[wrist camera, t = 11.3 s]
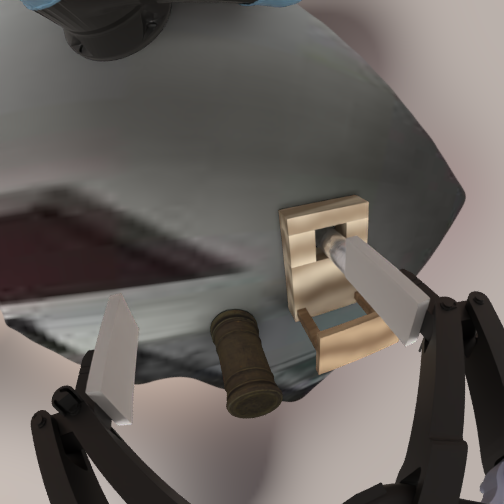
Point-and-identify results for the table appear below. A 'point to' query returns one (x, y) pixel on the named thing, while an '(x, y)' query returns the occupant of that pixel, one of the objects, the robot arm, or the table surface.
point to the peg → (332, 245)
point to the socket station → (329, 282)
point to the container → (244, 365)
